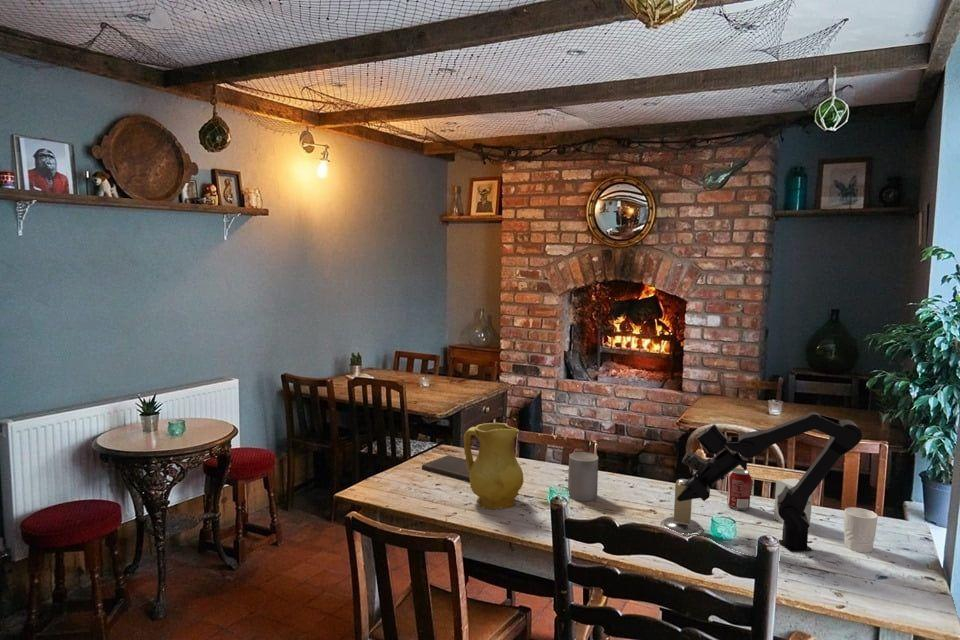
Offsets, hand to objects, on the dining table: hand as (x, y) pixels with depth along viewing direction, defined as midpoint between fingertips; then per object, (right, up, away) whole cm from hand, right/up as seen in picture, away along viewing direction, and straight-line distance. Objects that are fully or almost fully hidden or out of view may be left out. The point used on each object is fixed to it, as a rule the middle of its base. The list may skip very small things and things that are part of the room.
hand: (678, 497), depth 187 cm
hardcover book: (-66, -4, +47) cm, 81 cm away
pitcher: (-54, -6, +18) cm, 57 cm away
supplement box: (+36, -10, +6) cm, 38 cm away
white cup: (+47, -11, -10) cm, 49 cm away
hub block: (+1, -7, 0) cm, 7 cm away
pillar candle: (-25, -7, +24) cm, 35 cm away
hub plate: (+1, -9, 0) cm, 9 cm away
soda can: (+25, -8, +18) cm, 32 cm away
